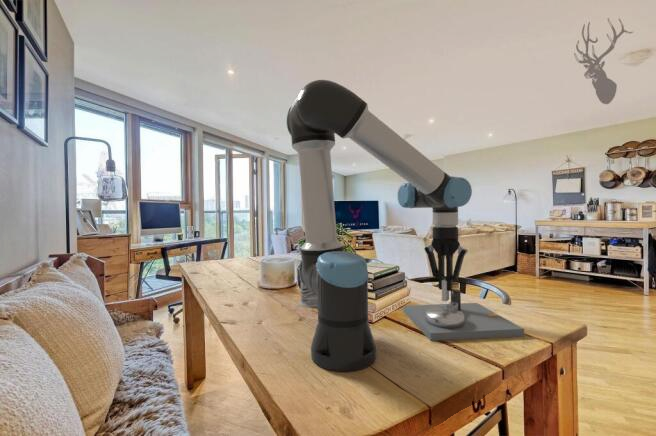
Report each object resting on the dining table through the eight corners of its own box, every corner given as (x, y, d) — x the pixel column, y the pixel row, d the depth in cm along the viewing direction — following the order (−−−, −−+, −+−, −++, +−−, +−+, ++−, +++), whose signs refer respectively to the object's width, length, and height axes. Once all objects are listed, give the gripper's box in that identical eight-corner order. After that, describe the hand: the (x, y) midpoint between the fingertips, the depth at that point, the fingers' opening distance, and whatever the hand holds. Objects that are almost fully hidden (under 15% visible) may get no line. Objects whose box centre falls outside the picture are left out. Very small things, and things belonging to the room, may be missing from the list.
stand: (430, 340, 77) (430, 332, 77) (403, 311, 99) (403, 304, 99) (524, 336, 79) (524, 327, 79) (476, 308, 101) (476, 301, 101)
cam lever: (459, 331, 78) (459, 308, 77) (421, 323, 84) (420, 301, 83) (474, 311, 92) (474, 291, 92) (440, 305, 98) (440, 287, 98)
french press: (299, 298, 115) (298, 233, 114) (330, 298, 115) (329, 233, 114) (296, 307, 105) (294, 235, 105) (329, 307, 105) (328, 235, 104)
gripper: (470, 225, 94) (470, 300, 95) (429, 224, 102) (429, 293, 103) (463, 227, 88) (463, 307, 89) (420, 226, 96) (421, 299, 97)
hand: (445, 300), depth 96 cm, fingers closed
